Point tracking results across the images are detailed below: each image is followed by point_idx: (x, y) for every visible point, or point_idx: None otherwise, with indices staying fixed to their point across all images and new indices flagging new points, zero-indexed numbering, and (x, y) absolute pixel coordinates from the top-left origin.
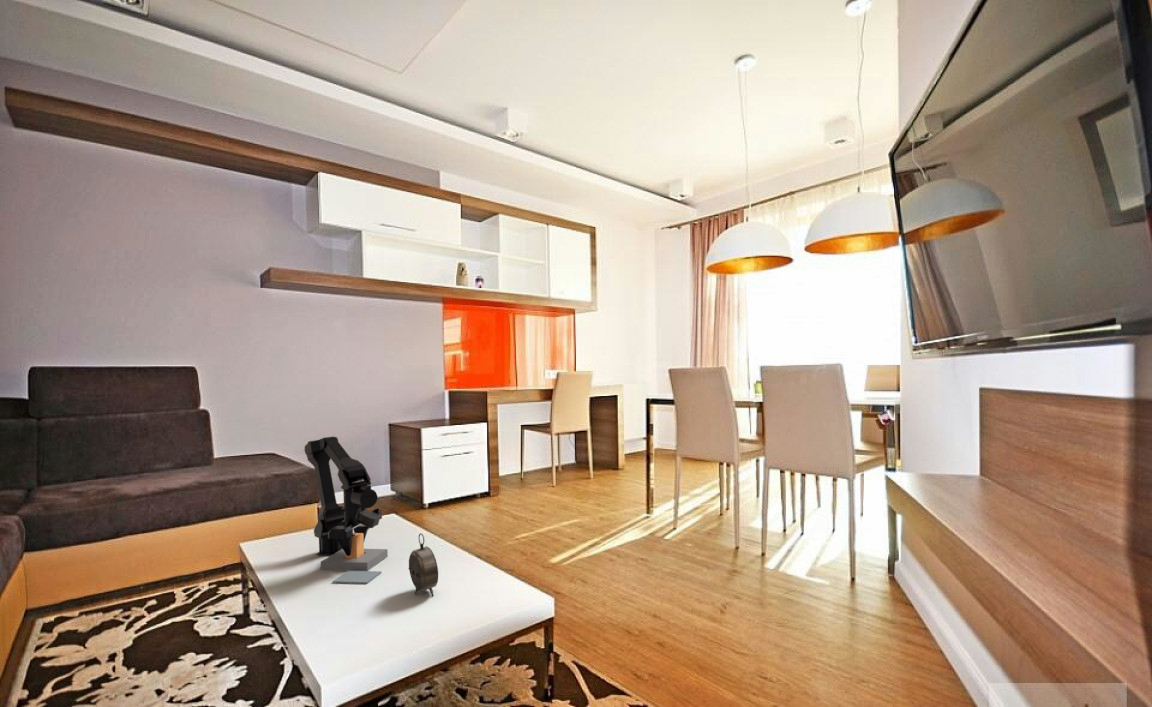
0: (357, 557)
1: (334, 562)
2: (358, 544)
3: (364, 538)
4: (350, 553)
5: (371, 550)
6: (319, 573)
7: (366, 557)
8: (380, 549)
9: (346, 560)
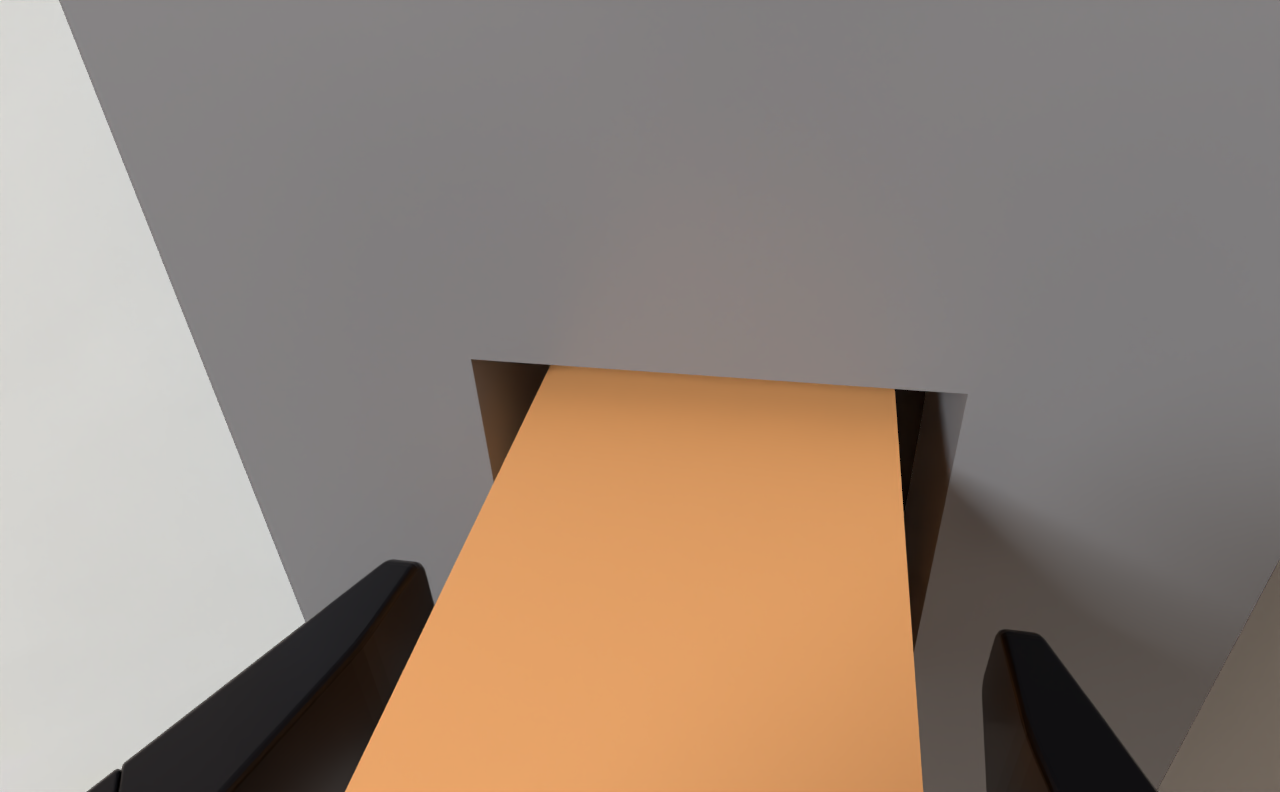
0: (866, 430)
1: (1158, 761)
2: (773, 746)
3: (188, 755)
4: (1036, 672)
5: (299, 304)
6: (1248, 768)
7: (916, 139)
8: (125, 56)
9: (1119, 592)
